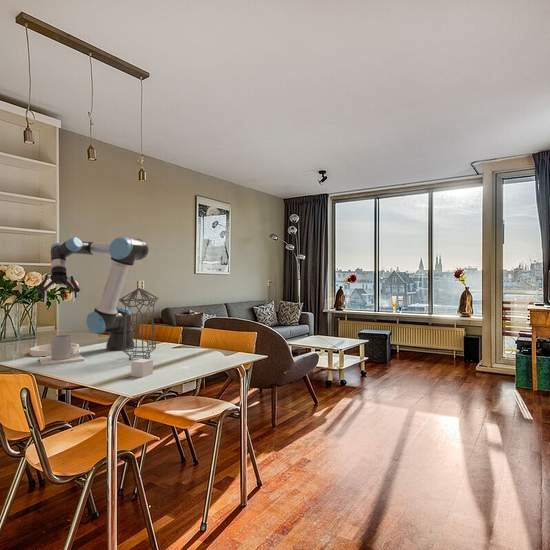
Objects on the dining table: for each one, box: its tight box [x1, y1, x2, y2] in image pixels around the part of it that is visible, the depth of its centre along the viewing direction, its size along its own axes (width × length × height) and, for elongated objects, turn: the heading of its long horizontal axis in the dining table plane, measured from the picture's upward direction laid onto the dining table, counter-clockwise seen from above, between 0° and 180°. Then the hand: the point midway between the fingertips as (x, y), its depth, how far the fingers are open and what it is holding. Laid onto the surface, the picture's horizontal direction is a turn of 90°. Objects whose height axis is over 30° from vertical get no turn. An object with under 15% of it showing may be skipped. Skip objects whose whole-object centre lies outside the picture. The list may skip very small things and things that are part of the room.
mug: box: [50, 334, 72, 360], centre depth 199 cm, size 12×8×11 cm
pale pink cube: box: [130, 358, 154, 378], centre depth 168 cm, size 6×6×6 cm
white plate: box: [29, 342, 80, 357], centre depth 221 cm, size 23×23×3 cm
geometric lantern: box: [118, 287, 160, 361], centre depth 202 cm, size 16×16×35 cm
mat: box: [38, 352, 85, 366], centre depth 200 cm, size 18×18×1 cm
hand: (59, 302), depth 218 cm, fingers open, 13 cm apart
